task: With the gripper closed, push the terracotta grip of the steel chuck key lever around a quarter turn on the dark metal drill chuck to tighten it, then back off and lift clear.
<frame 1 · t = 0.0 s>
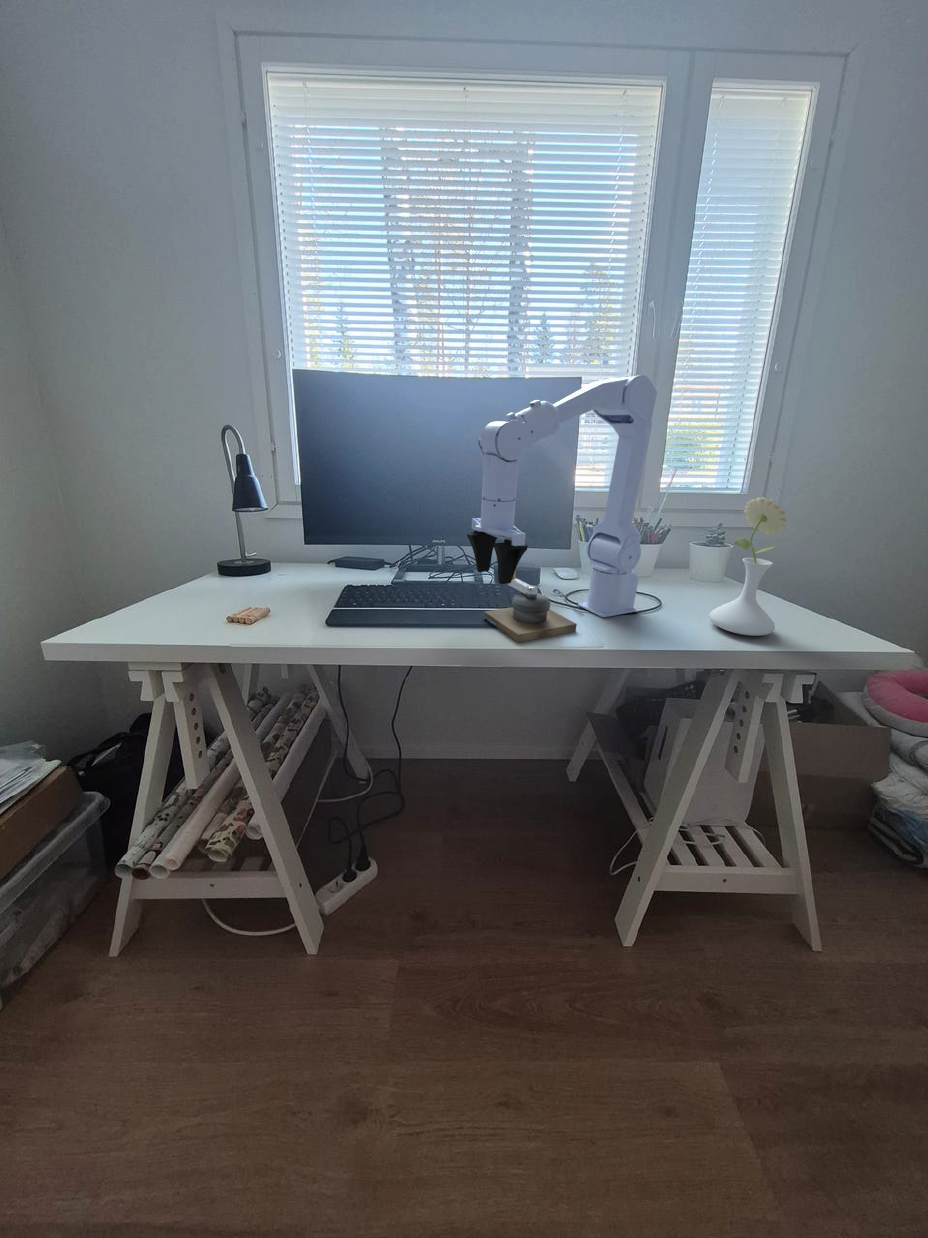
hand: (493, 577, 84), 10 cm above the table, tool pointing down, fingers open, 7 cm apart
flower in vase: (736, 628, 93), on the table
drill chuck: (528, 624, 90), on the table
chuck key: (520, 580, 90), point 8 cm above the table, hinge at 0.0°
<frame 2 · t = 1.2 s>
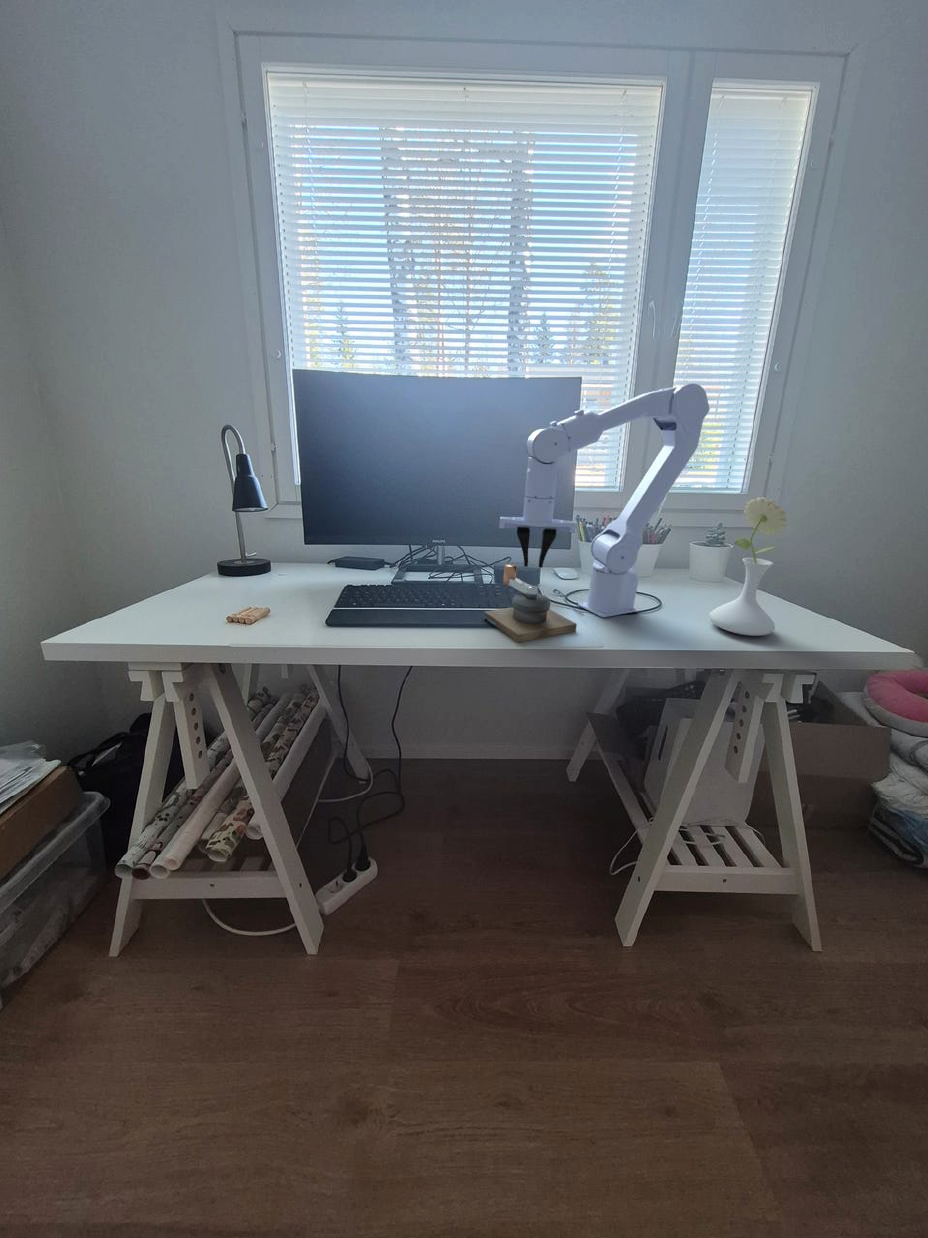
hand: (533, 565, 94), 9 cm above the table, tool pointing down, fingers closed
chuck key: (520, 580, 91), point 8 cm above the table, hinge at -1.1°
everything else where it was.
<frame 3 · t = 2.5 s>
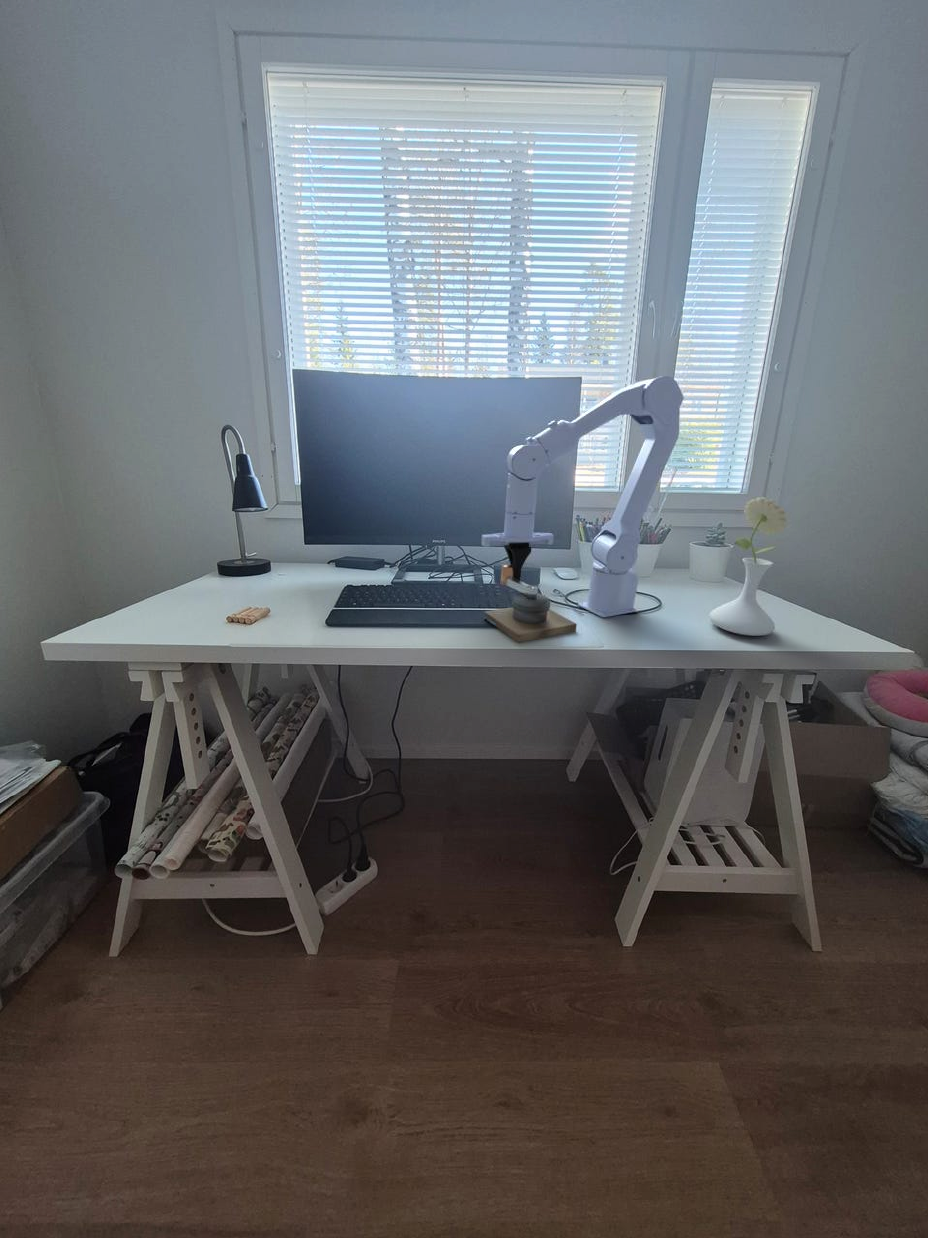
hand: (514, 579, 95), 6 cm above the table, tool pointing down, fingers closed
chuck key: (519, 581, 90), point 8 cm above the table, hinge at 3.7°, touching gripper
everything else where it was.
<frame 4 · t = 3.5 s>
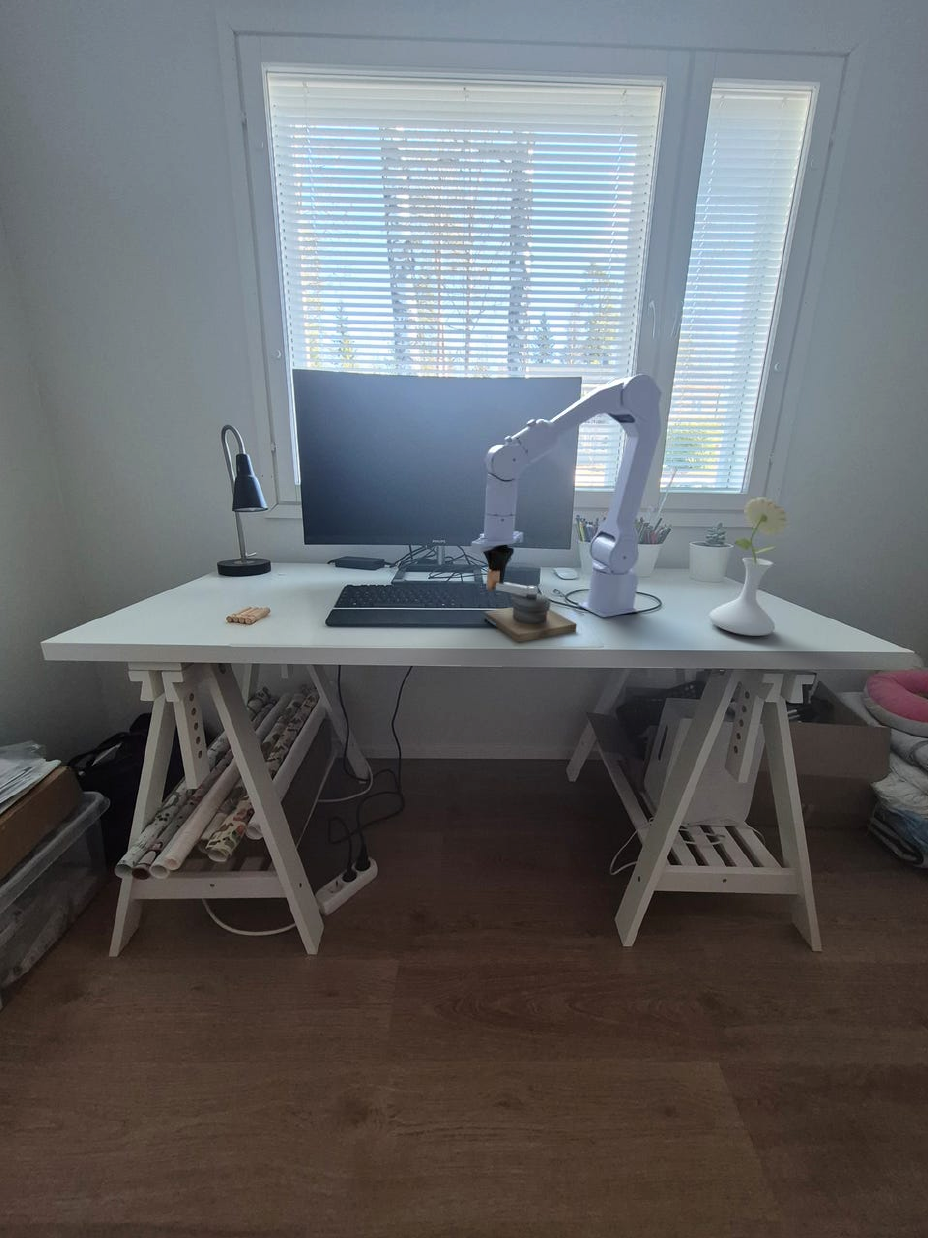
hand: (495, 583, 93), 6 cm above the table, tool pointing down, fingers closed, pressing on chuck key
chuck key: (511, 583, 89), point 8 cm above the table, hinge at 35.7°, touching gripper
everything else where it was.
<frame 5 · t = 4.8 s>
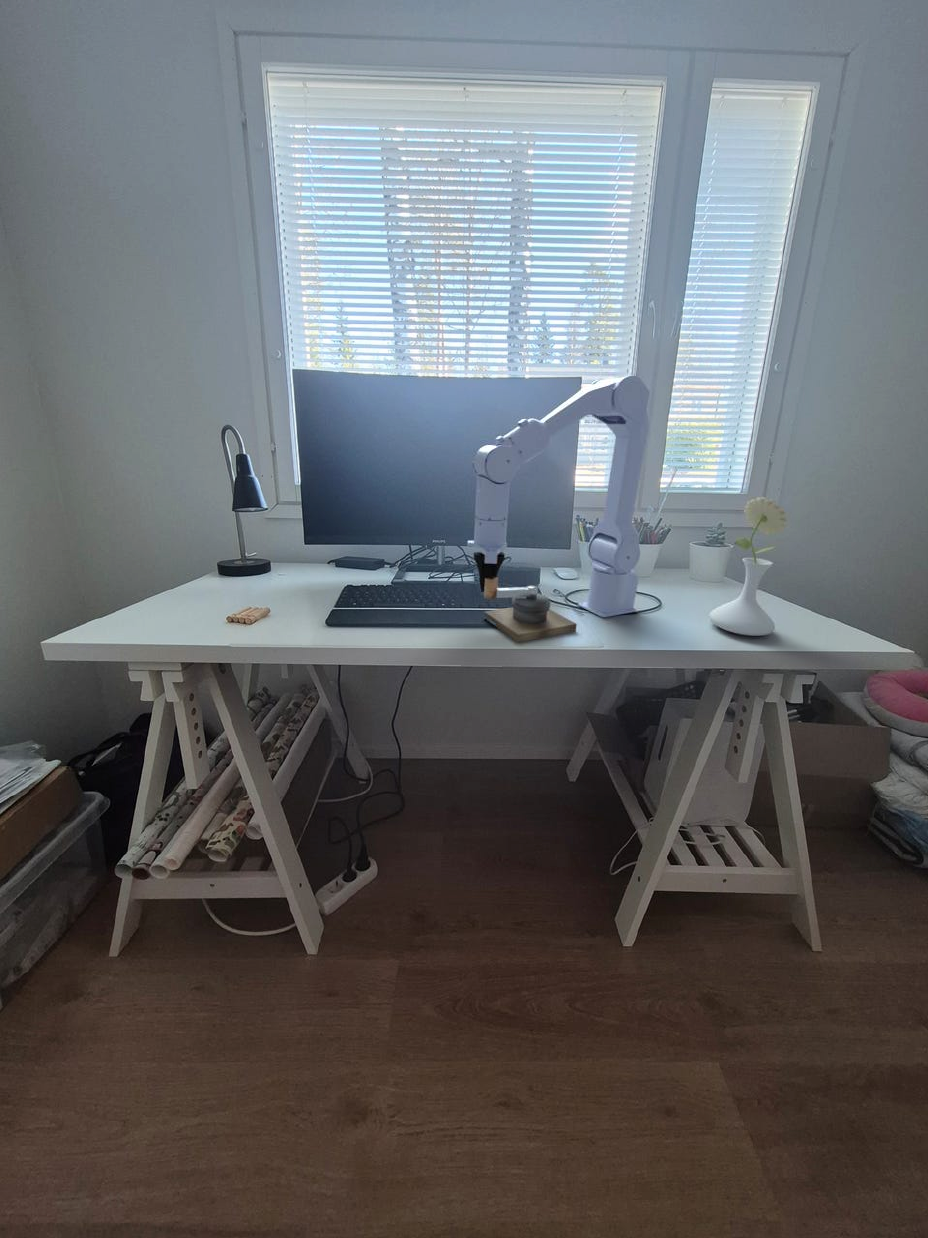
hand: (486, 591, 88), 6 cm above the table, tool pointing down, fingers closed
chuck key: (511, 587, 86), point 8 cm above the table, hinge at 74.9°, touching gripper
everything else where it was.
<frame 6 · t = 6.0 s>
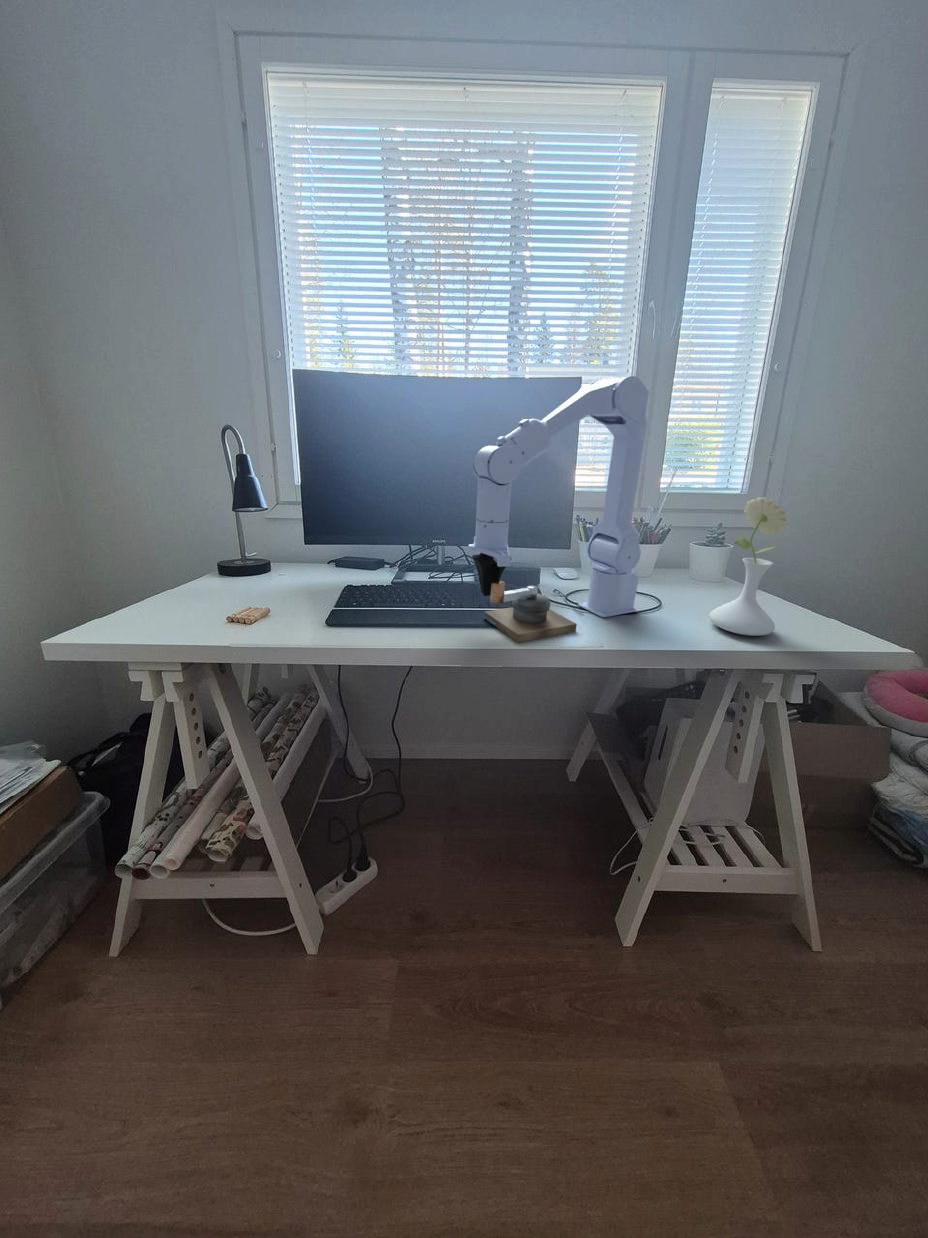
hand: (487, 594, 86), 6 cm above the table, tool pointing down, fingers closed
chuck key: (514, 590, 85), point 8 cm above the table, hinge at 94.3°
everything else where it was.
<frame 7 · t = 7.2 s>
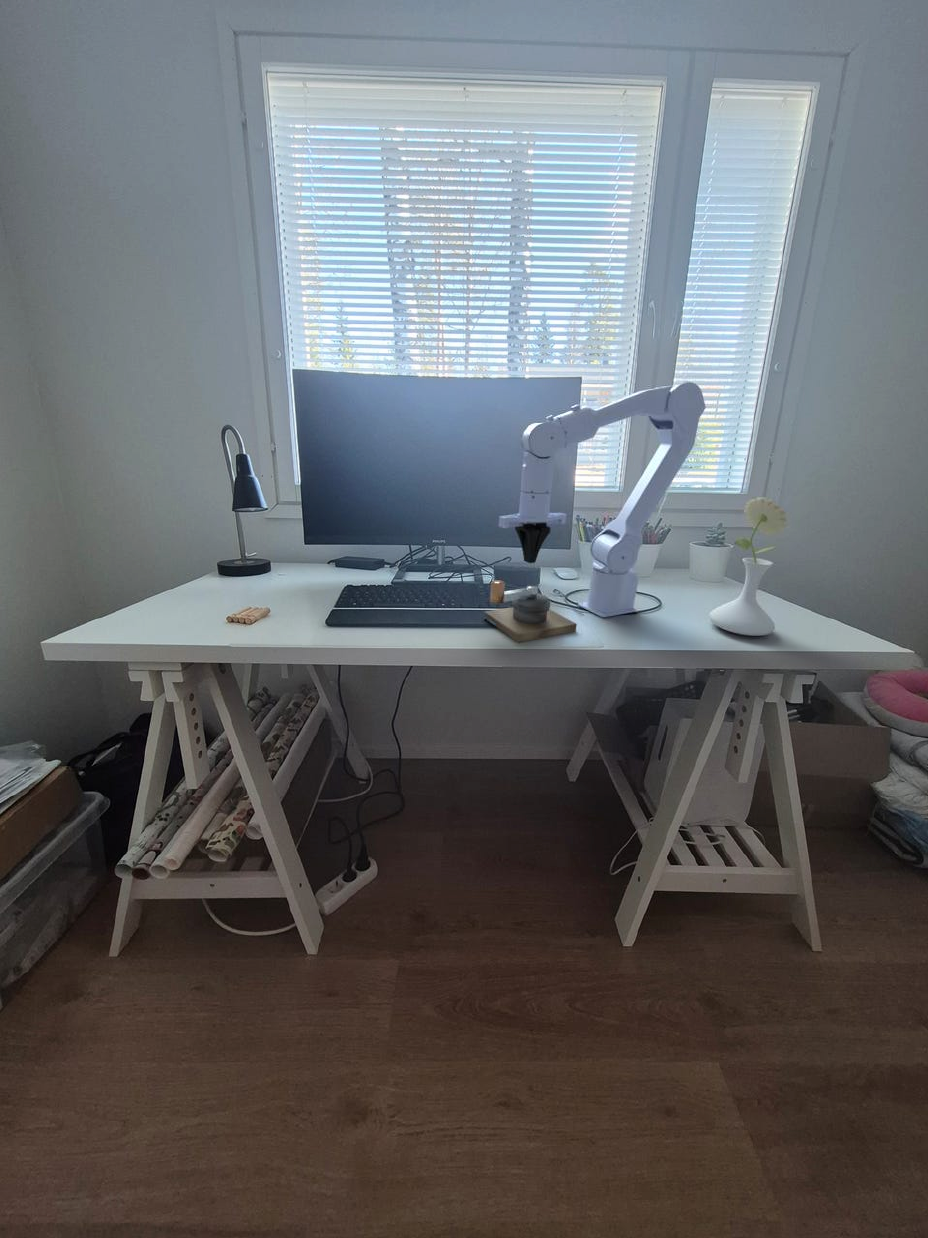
hand: (529, 561, 93), 10 cm above the table, tool pointing down, fingers closed
nothing on the table moved.
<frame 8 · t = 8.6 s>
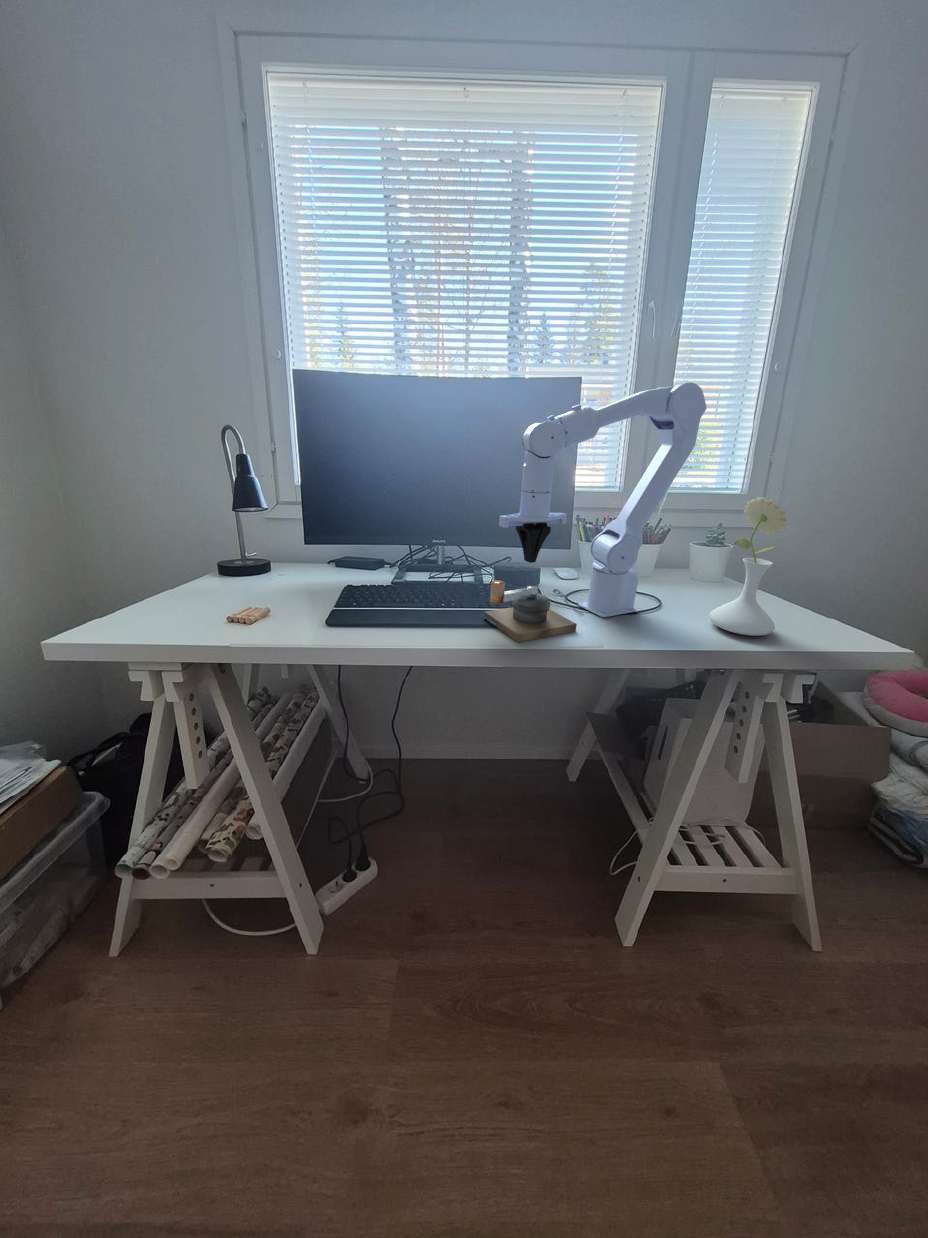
hand: (529, 561, 94), 10 cm above the table, tool pointing down, fingers closed
nothing on the table moved.
at the end: chuck key at +94° (first picture: +0°); the gripper is holding nothing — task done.
